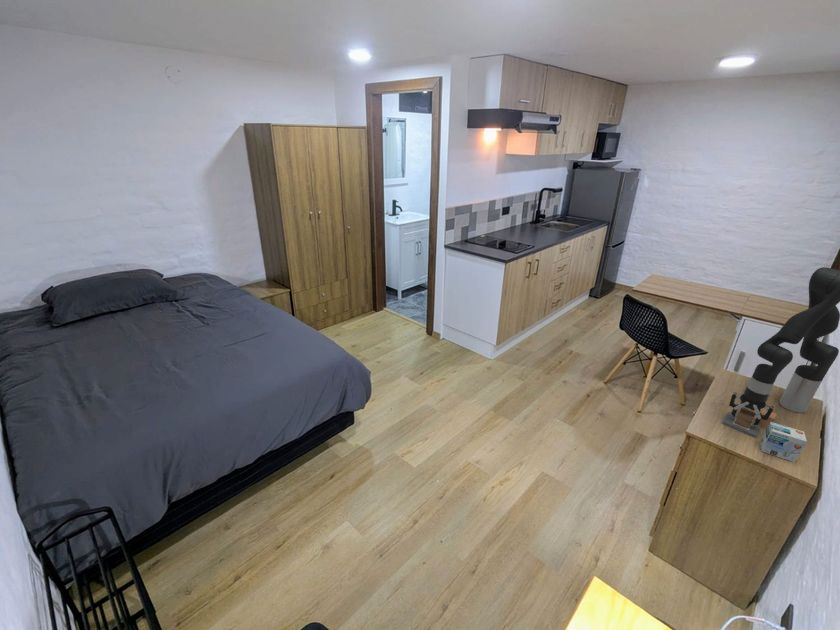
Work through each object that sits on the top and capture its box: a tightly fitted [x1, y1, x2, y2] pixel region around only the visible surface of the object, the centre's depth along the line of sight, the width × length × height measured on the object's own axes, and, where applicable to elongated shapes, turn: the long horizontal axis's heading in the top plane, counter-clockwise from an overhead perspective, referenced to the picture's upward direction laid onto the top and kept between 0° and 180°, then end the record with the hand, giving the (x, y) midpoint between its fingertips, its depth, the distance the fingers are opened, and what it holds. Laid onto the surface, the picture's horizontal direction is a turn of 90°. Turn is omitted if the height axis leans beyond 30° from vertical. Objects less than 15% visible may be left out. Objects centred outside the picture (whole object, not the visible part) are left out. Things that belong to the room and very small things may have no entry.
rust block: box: [759, 408, 777, 430], centre depth 169 cm, size 5×5×6 cm
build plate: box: [721, 412, 762, 439], centre depth 170 cm, size 9×12×1 cm
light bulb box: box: [759, 421, 808, 463], centre depth 154 cm, size 11×7×11 cm, turn 56°
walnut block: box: [734, 407, 757, 429], centre depth 168 cm, size 5×5×6 cm
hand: (744, 419), depth 168 cm, fingers open, 6 cm apart
